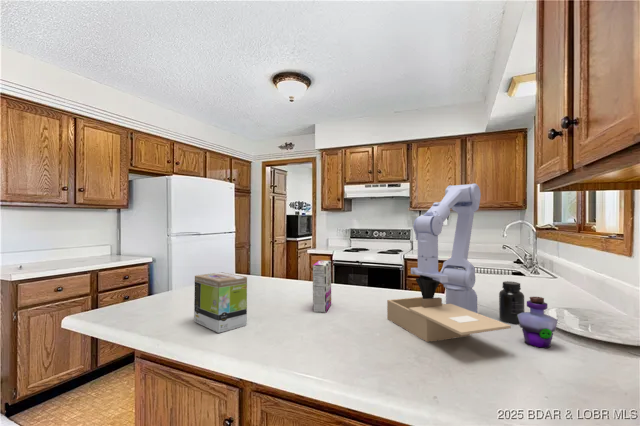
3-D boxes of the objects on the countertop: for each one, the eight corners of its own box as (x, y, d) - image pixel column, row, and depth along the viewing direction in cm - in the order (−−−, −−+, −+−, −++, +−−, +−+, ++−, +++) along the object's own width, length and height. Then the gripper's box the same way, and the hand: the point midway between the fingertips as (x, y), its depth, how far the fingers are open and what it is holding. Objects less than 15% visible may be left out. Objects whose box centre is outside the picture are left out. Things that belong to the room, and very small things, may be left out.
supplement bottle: (494, 317, 102) (494, 280, 103) (514, 317, 103) (514, 280, 103) (508, 324, 96) (508, 285, 96) (530, 324, 96) (529, 284, 96)
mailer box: (424, 314, 106) (424, 296, 106) (470, 335, 87) (469, 313, 87) (387, 318, 101) (387, 300, 101) (426, 342, 82) (426, 318, 82)
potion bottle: (540, 353, 76) (539, 302, 76) (509, 339, 84) (509, 294, 84) (567, 349, 78) (566, 300, 78) (535, 336, 86) (534, 292, 86)
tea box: (248, 325, 95) (248, 276, 96) (217, 334, 88) (217, 281, 88) (222, 315, 106) (222, 270, 106) (192, 322, 98) (193, 274, 99)
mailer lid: (450, 305, 94) (450, 296, 94) (510, 328, 75) (510, 316, 75) (408, 309, 90) (408, 300, 90) (461, 335, 70) (461, 322, 71)
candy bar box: (318, 303, 120) (318, 260, 120) (331, 304, 118) (331, 260, 119) (311, 312, 109) (311, 264, 109) (326, 313, 108) (326, 264, 108)
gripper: (402, 254, 99) (402, 297, 99) (432, 260, 85) (432, 310, 85) (421, 253, 101) (421, 296, 101) (453, 258, 87) (454, 308, 87)
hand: (428, 302), depth 93 cm, fingers closed
